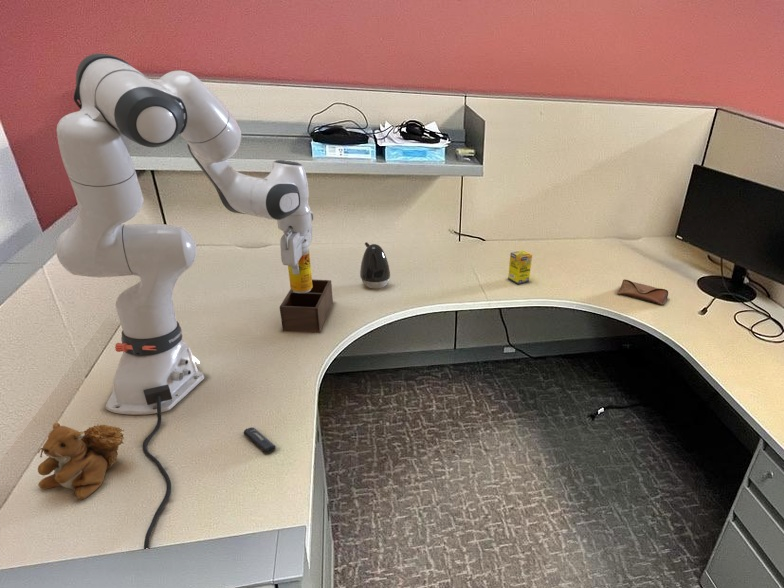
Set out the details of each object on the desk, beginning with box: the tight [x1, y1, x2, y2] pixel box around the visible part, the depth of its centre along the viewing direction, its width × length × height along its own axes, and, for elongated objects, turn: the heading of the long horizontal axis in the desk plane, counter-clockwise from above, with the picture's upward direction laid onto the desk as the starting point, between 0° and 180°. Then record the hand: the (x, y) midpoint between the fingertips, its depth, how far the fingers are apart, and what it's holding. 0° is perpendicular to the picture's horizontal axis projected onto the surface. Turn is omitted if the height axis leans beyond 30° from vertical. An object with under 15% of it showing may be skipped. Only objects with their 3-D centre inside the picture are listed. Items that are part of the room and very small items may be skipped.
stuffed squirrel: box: [37, 422, 125, 500], centre depth 107 cm, size 10×14×13 cm
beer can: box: [287, 239, 313, 293], centre depth 161 cm, size 6×6×15 cm
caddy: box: [279, 278, 334, 334], centre depth 173 cm, size 20×11×8 cm, turn 5°
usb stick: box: [243, 427, 276, 454], centre depth 123 cm, size 10×3×2 cm, turn 50°
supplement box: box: [507, 249, 533, 285], centre depth 211 cm, size 6×6×11 cm
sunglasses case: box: [616, 279, 669, 306], centre depth 211 cm, size 18×7×7 cm
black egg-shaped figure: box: [359, 241, 391, 290], centre depth 194 cm, size 10×10×15 cm
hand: (299, 268), depth 161 cm, fingers closed on beer can, 6 cm apart
